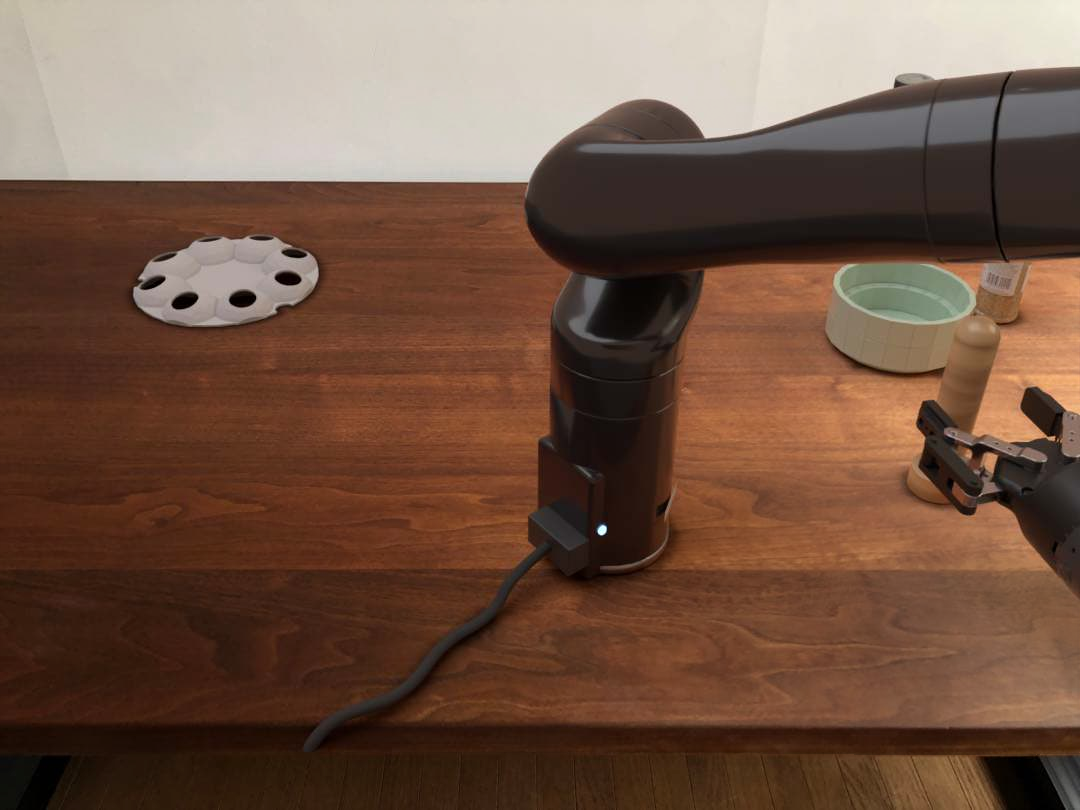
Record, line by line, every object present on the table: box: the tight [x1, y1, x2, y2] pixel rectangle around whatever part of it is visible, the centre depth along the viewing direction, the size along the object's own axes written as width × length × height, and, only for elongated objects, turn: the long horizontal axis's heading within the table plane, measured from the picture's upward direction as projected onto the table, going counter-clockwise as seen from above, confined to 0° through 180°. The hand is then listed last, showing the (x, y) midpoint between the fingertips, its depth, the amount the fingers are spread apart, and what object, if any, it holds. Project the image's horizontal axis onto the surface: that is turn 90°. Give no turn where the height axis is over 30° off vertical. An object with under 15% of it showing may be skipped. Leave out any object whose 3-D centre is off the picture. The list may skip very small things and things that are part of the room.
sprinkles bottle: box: [974, 262, 1033, 324], centre depth 106 cm, size 5×5×14 cm
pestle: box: [906, 314, 1002, 505], centre depth 82 cm, size 4×4×16 cm
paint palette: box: [132, 233, 320, 328], centre depth 114 cm, size 20×20×2 cm
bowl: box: [824, 263, 976, 374], centre depth 103 cm, size 13×13×6 cm
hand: (975, 402), depth 79 cm, fingers open, 8 cm apart
